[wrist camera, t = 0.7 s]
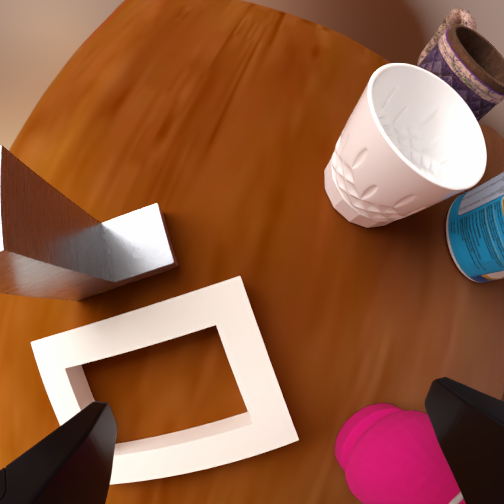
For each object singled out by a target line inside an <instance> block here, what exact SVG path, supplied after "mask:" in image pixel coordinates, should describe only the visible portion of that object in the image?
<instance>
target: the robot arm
mask: <svg viewBox="0 0 504 504" xmlns="http://www.w3.org/2000/svg"><path fill="white" fill-rule="evenodd" d="M425 408H426V411H427V413H428V416H429V418H430V421H431V424H432V427H433V429H434V432H435V435H436V438H437V440H438V443H439V446H440V448H441V450H442V452H443V454H444V456H445V459H446V461H447V463H448V465H449V467H450V469H451V471H452V474H453V476H454V478H455V480H456V482H457V485H458V487H459V489H460V492H461V494H462V496H463V498H464V501H465V503H466V504H504V402H503V401H501V400H498V399H496V398H494V397H491V396H489V395H486V394H484V393H482V392H479V391H477V390H475V389H472V388H470V387H468V386H465V385H463V384H461V383H458V382H456V381H454V380H451V379H449V378H447V377H443V378H439V379H436V380H434V381H433V382H432V384H431V387H430V389H429V392H428V394H427V397H426V399H425ZM116 435H117V424H116V421H115V418H114V415H113V413H112V410H111V407H110V405H109V404H108V403H106V402H99V401H94V402H92V403H90V404H89V405H88V406H86V407H85V408H84V409H82V410H81V411H80V412H78V413H77V414H76V415H74V416H73V417H72V418H70V419H69V420H68V421H66V422H65V423H64V424H62V425H61V426H60V427H58V428H57V429H56V430H54V431H53V432H52V433H50V434H49V435H48V436H46V437H45V438H44V439H42V440H41V441H40V442H38V443H37V444H36V445H34V446H33V447H32V448H30V449H29V450H27V451H26V452H25V453H23V454H22V455H21V456H19V457H18V458H17V459H15V460H14V461H12V462H11V463H10V464H8V465H7V466H6V468H3V469H1V470H0V504H105V502H106V498H107V493H108V489H109V485H110V480H111V475H112V467H113V458H114V450H115V443H116Z"/></svg>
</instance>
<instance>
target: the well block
mask: <svg viewBox="0 0 504 504" xmlns="http://www.w3.org/2000/svg"><path fill="white" fill-rule="evenodd" d="M214 325H216V326H217V329H218V332H219V335H220V338H221V341H222V343H223V346H224V349H225V352H226V354H227V357H228V360H229V363H230V365H231V368H232V371H233V373H234V376H235V379H236V381H237V384H238V387H239V389H240V392H241V394H242V397H243V400H244V402H245V405H246V407H247V410H248V412H245V413H242V414H239V415H236V416H233V417H230V418H226V419H223V420H220V421H216V422H213V423H209V424H205V425H202V426H198V427H194V428H190V429H186V430H182V431H178V432H174V433H169V434H165V435H160V436H156V437H151V438H146V439H141V440H135V441H130V442H124V443H118V444H115V450H114V458H113V467H112V475H111V480H110V484H120V483H129V482H137V481H145V480H152V479H158V478H164V477H170V476H175V475H181V474H186V473H190V472H195V471H200V470H204V469H208V468H212V467H216V466H220V465H224V464H228V463H231V462H235V461H239V460H242V459H245V458H249V457H252V456H255V455H258V454H261V453H264V452H267V451H270V450H273V449H276V448H279V447H282V446H285V445H288V444H290V443H293V442H296V441H298V440H299V438H298V436H297V433H296V430H295V428H294V425H293V422H292V420H291V417H290V414H289V411H288V409H287V406H286V403H285V401H284V398H283V395H282V392H281V390H280V387H279V384H278V381H277V379H276V376H275V373H274V370H273V368H272V365H271V362H270V359H269V356H268V354H267V351H266V348H265V345H264V342H263V340H262V337H261V334H260V331H259V328H258V325H257V323H256V320H255V317H254V314H253V311H252V308H251V305H250V303H249V300H248V297H247V294H246V291H245V288H244V285H243V282H242V279H241V277H240V276H238V277H235V278H232V279H229V280H226V281H223V282H220V283H217V284H214V285H211V286H208V287H205V288H202V289H199V290H196V291H193V292H190V293H187V294H184V295H180V296H177V297H174V298H171V299H168V300H165V301H162V302H159V303H156V304H153V305H149V306H146V307H143V308H140V309H137V310H134V311H131V312H127V313H124V314H121V315H118V316H115V317H112V318H108V319H105V320H102V321H99V322H95V323H92V324H89V325H86V326H82V327H79V328H76V329H73V330H69V331H66V332H63V333H60V334H56V335H53V336H50V337H46V338H43V339H40V340H36V341H33V342H31V345H32V348H33V352H34V355H35V359H36V362H37V365H38V368H39V371H40V374H41V377H42V380H43V383H44V386H45V388H46V391H47V394H48V396H49V399H50V402H51V404H52V407H53V409H54V412H55V414H56V416H57V419H58V421H59V423H60V426H61V425H62V424H64V423H65V422H66V421H68V420H69V419H70V418H72V417H73V416H74V415H76V414H77V413H78V412H80V411H81V410H82V409H84V408H85V407H86V406H88V405H89V404H90V403H92V402H94V401H95V400H94V398H93V395H92V393H91V390H90V387H89V385H88V382H87V379H86V377H85V374H84V371H83V368H82V365H81V364H85V363H88V362H92V361H96V360H100V359H104V358H107V357H111V356H115V355H118V354H122V353H125V352H129V351H133V350H136V349H140V348H143V347H146V346H150V345H153V344H157V343H160V342H163V341H167V340H170V339H173V338H176V337H180V336H183V335H186V334H189V333H192V332H196V331H199V330H202V329H205V328H208V327H211V326H214Z"/></svg>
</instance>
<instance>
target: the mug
mask: <svg viewBox="0 0 504 504" xmlns="http://www.w3.org/2000/svg"><path fill="white" fill-rule="evenodd" d="M417 67H420V68H422V69H425V70H427V71H429V72H431V73H432V74H434V75H436V76H437V77H439V78H440V79H442V80H443V81H444V82H446V83H447V84H448V85H449V86H450V87H452V88H453V89H454V90H455V91H456V92H457V93H458V94H459V95H460V97H461V98H462V99H463V100H464V101H465V103H466V104H467V105H468V107H469V108H470V110H471V111H472V113H473V114H474V116H475V118H476V120H477V122H478V121H479V120H480V119H481V118H482V117H483V116H484V115H486V114H487V113H488V112H489V111H490V110H491V109H492V108H493V107H494V106H495V105H497V104H498V103H500V102H501V101H502V100H503V99H504V58H503V57H502V55H501V54H500V53H499V52H498V51H497V50H496V48H495V47H494V46H493V45H492V44H491V43H490V42H489V41H487V40H486V39H485V38H484V37H483V36H481V35H480V34H479V33H477V32H476V22H475V18H474V17H473V16H472V15H471V14H470V12H468V11H466V10H464V9H461V8H455V9H453V10H452V11H451V12H450V13H448V14H447V16H446V18H445V19H444V21H443V23H442V24H441V26H440V27H439V29H438V30H437V32H436V33H435V34H434V36H433V37H432V39H431V40H430V41H429V43H428V44H427V46H426V47H425V48H424V50H423V51H422V53H421V55H420V57H419V59H418V65H417Z"/></svg>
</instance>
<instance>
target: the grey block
mask: <svg viewBox="0 0 504 504" xmlns="http://www.w3.org/2000/svg"><path fill="white" fill-rule="evenodd" d="M177 267H179V265H178V262H177V259H176V255H175V252H174V249H173V245H172V242H171V238H170V235H169V231H168V228H167V224H166V221H165V217H164V213H163V211H162V210H161V208H160V207H159V205H158V203H156V204H153V205H150V206H147V207H144V208H142V209H139V210H136V211H133V212H130V213H128V214H125V215H122V216H119V217H117V218H114V219H111V220H109V221H106V222H103V223H100V222H99V221H98V220H96V219H95V218H93V217H92V216H91V215H89V214H88V213H87V212H85V211H84V210H83V209H81V208H80V207H79V206H77V205H76V204H75V203H73V202H72V201H71V200H69V199H68V198H67V197H65V196H64V195H63V194H62V193H60V192H59V191H58V190H56V189H55V188H54V187H53V186H51V185H50V184H49V183H47V182H46V181H45V180H44V179H42V178H41V177H40V176H39V175H37V174H36V173H35V172H34V171H32V170H31V169H30V168H29V167H27V166H26V165H25V164H24V163H22V162H21V161H20V160H19V159H18V158H16V157H15V156H14V155H13V154H12V153H10V152H9V151H8V150H7V149H6V148H4V147H3V146H0V293H5V294H13V295H22V296H31V297H40V298H50V299H61V300H72V301H79V300H81V299H84V298H87V297H90V296H93V295H96V294H99V293H102V292H105V291H108V290H111V289H114V288H117V287H120V286H123V285H126V284H129V283H132V282H135V281H138V280H141V279H144V278H147V277H150V276H153V275H156V274H159V273H162V272H165V271H168V270H171V269H174V268H177Z"/></svg>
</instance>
